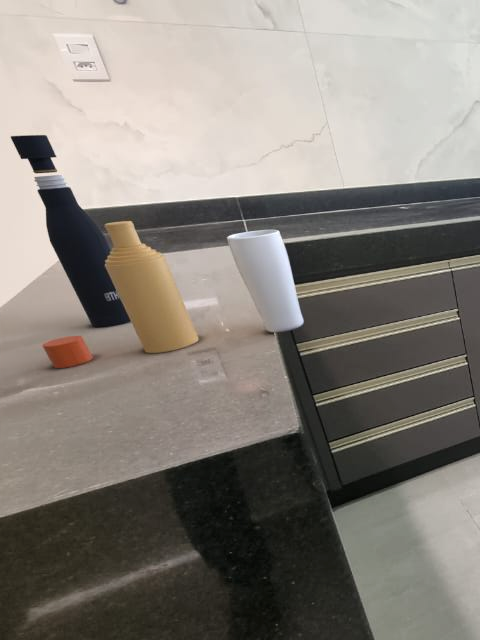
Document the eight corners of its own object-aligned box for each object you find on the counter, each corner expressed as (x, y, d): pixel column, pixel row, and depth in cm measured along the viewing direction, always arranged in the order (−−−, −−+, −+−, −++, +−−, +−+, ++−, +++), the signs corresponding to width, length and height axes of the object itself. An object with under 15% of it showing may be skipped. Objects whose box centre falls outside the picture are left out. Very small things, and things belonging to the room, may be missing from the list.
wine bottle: (112, 316, 95) (25, 136, 83) (150, 313, 96) (69, 134, 84) (81, 328, 89) (-17, 137, 77) (122, 325, 90) (31, 134, 78)
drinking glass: (298, 318, 89) (268, 228, 83) (317, 324, 85) (287, 231, 79) (253, 331, 84) (218, 236, 78) (272, 338, 80) (236, 239, 74)
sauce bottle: (134, 351, 78) (74, 226, 70) (179, 335, 83) (128, 218, 76) (165, 354, 76) (107, 227, 69) (208, 338, 82) (159, 218, 74)
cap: (97, 359, 76) (86, 338, 74) (59, 370, 73) (47, 348, 71) (87, 354, 78) (76, 334, 76) (50, 365, 75) (38, 343, 73)
